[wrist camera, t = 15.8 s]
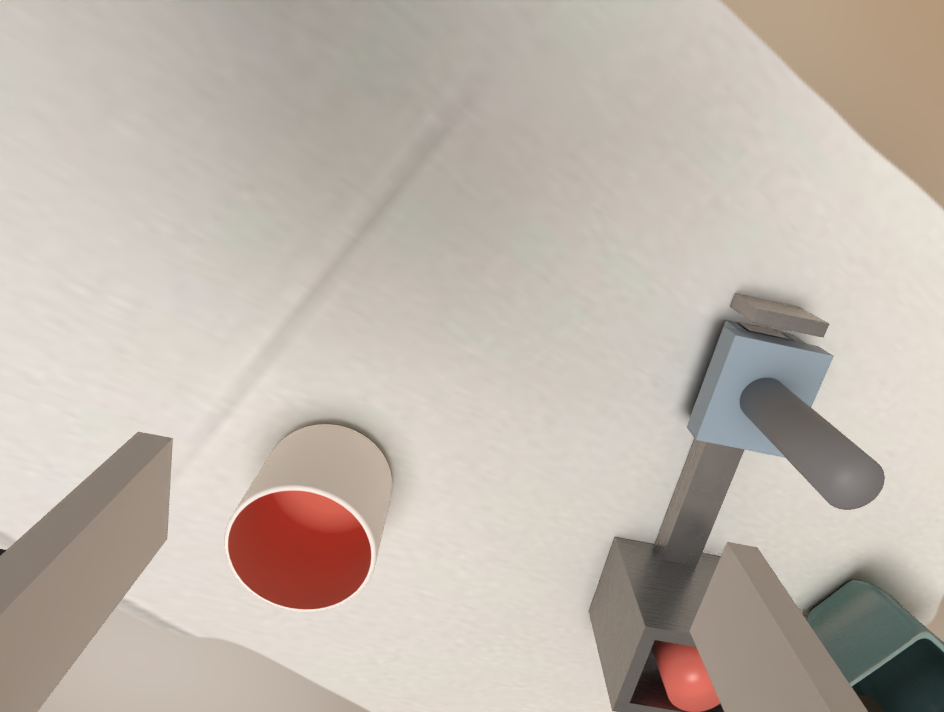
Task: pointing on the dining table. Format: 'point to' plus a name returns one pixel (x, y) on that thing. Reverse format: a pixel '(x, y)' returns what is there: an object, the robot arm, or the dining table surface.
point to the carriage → (781, 413)
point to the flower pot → (881, 648)
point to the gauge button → (684, 676)
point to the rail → (720, 448)
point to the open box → (644, 620)
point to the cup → (311, 520)
